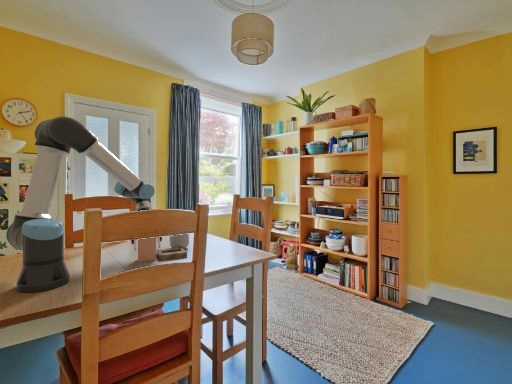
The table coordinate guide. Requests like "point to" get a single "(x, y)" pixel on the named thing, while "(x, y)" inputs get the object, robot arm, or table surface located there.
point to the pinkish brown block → (147, 249)
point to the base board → (171, 253)
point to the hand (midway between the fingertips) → (147, 247)
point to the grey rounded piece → (179, 241)
